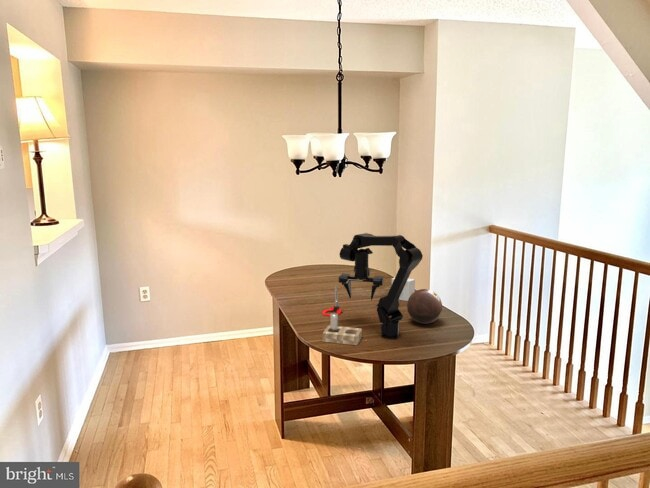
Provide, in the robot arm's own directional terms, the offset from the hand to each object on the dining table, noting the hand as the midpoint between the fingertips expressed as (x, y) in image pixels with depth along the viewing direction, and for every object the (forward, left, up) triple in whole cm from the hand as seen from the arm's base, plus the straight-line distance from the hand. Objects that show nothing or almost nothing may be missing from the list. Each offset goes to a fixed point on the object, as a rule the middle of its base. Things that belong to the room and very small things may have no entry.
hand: (361, 298), depth 205 cm
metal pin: (+8, +17, -12) cm, 22 cm away
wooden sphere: (-26, -11, -12) cm, 31 cm away
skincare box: (-13, -44, -12) cm, 47 cm away
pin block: (+4, +17, -12) cm, 21 cm away
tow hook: (+16, -12, -12) cm, 23 cm away
